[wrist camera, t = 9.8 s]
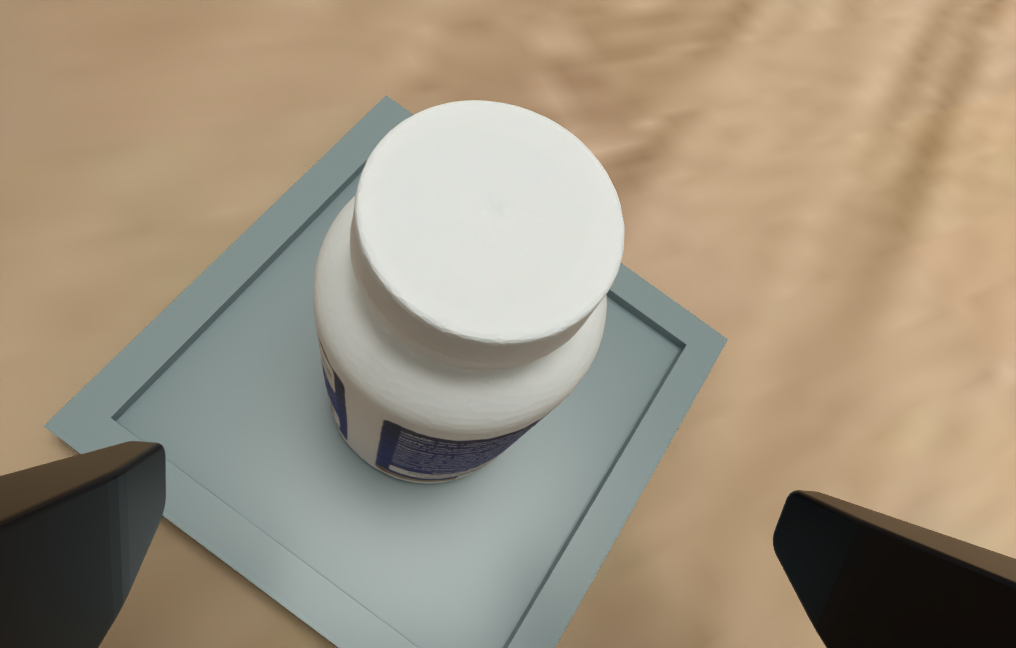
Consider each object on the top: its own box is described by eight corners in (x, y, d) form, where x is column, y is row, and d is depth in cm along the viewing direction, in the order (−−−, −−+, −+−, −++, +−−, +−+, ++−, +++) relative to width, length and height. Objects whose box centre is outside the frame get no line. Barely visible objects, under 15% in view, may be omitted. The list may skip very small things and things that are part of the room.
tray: (483, 751, 16) (490, 762, 15) (60, 434, 17) (44, 426, 16) (712, 349, 22) (728, 339, 21) (384, 115, 22) (386, 95, 21)
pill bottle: (559, 374, 20) (732, 204, 11) (444, 529, 17) (539, 478, 8) (413, 260, 20) (462, 0, 11) (283, 399, 18) (210, 217, 9)
